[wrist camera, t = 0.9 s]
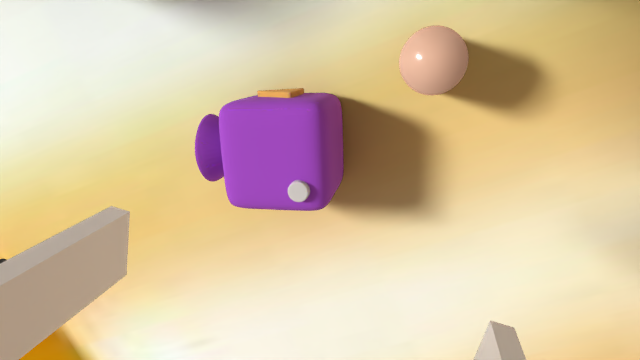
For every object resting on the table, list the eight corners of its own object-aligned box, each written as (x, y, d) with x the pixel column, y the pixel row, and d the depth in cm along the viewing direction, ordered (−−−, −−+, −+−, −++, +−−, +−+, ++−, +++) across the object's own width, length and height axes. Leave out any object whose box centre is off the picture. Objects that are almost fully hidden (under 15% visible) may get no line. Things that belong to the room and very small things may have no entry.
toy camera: (212, 102, 43) (156, 115, 33) (337, 72, 39) (313, 77, 30) (240, 198, 45) (195, 235, 36) (360, 178, 42) (344, 213, 32)
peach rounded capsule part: (393, 47, 37) (388, 45, 31) (446, 20, 36) (453, 12, 29) (414, 97, 38) (414, 105, 32) (467, 73, 37) (478, 77, 30)
